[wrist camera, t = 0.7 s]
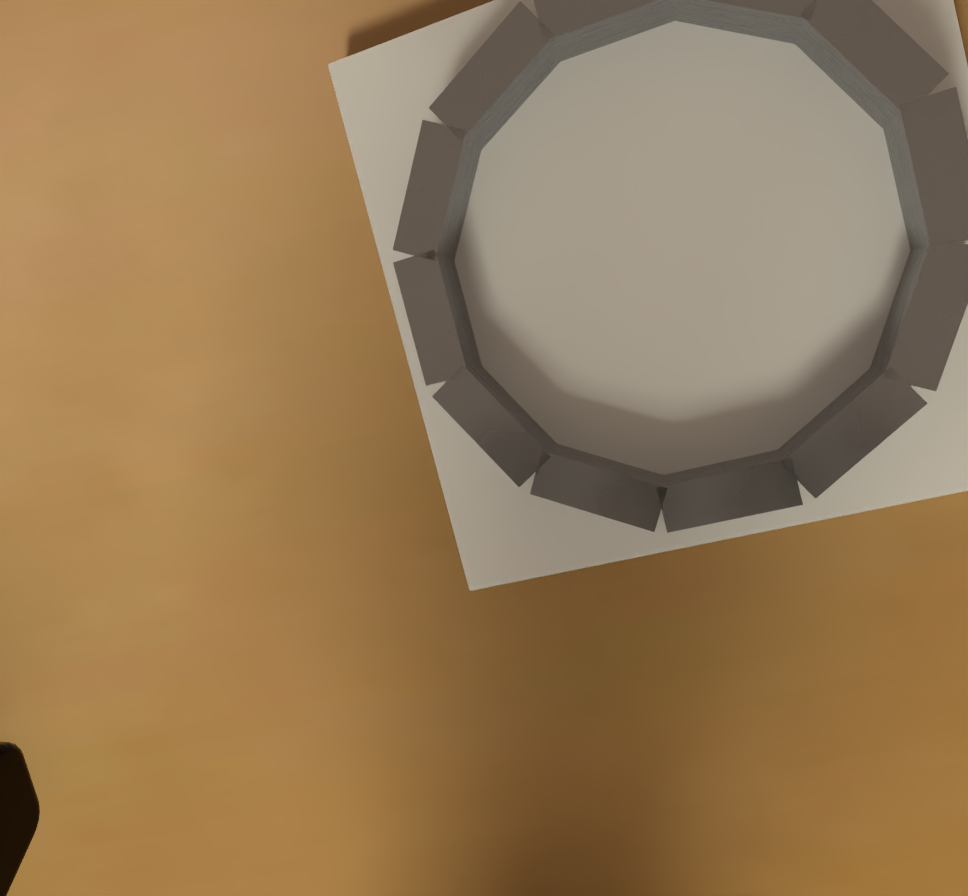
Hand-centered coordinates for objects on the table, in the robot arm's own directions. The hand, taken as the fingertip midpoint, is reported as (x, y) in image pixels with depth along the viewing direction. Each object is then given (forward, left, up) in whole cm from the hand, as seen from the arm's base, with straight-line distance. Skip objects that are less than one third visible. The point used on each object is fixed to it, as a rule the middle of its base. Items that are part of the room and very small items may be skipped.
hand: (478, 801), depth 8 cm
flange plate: (+5, -3, -14) cm, 15 cm away
